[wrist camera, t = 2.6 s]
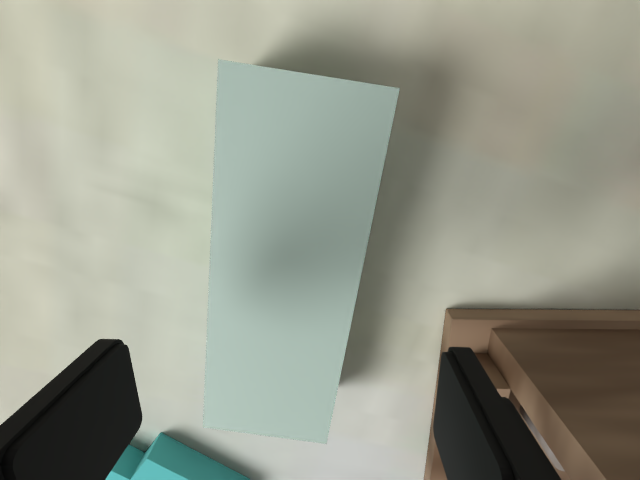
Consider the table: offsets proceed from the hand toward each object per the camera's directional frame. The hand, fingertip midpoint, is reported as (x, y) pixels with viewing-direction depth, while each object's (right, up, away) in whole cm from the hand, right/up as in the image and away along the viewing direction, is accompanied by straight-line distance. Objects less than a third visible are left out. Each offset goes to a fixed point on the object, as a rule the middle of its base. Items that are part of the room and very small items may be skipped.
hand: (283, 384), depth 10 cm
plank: (0, +4, +7) cm, 8 cm away
